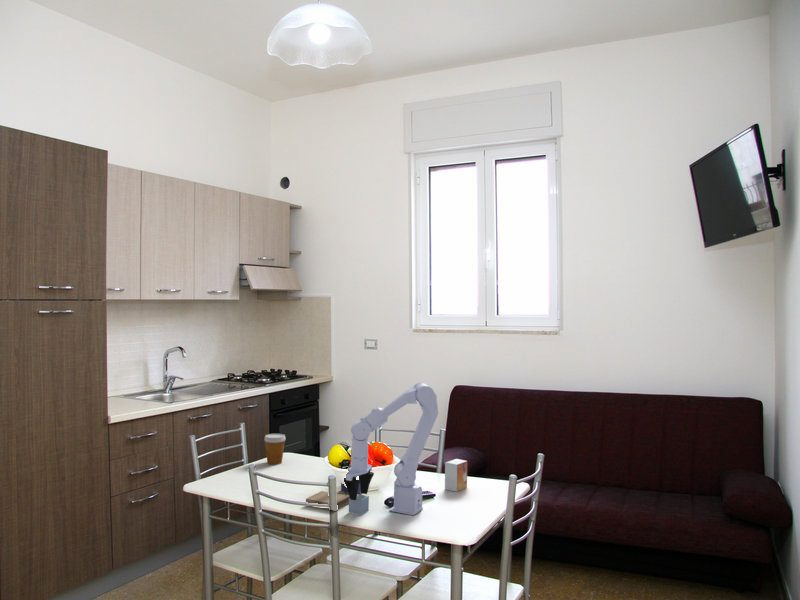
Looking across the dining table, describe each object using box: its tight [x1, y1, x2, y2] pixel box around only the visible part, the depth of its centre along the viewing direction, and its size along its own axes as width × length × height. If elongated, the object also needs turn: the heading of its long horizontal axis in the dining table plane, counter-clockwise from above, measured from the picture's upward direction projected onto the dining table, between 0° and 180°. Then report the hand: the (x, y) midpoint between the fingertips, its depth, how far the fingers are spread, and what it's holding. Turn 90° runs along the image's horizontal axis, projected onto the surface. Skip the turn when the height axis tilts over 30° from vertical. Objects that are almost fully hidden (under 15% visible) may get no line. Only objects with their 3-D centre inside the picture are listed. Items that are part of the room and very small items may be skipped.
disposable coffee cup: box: [263, 433, 287, 466], centre depth 272 cm, size 10×10×12 cm
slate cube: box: [348, 494, 370, 516], centre depth 211 cm, size 5×5×5 cm
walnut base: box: [305, 490, 350, 511], centre depth 217 cm, size 12×10×2 cm
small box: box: [444, 458, 468, 492], centre depth 239 cm, size 8×6×10 cm
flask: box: [340, 463, 363, 495], centre depth 232 cm, size 9×3×11 cm, turn 59°
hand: (358, 496), depth 211 cm, fingers open, 7 cm apart
